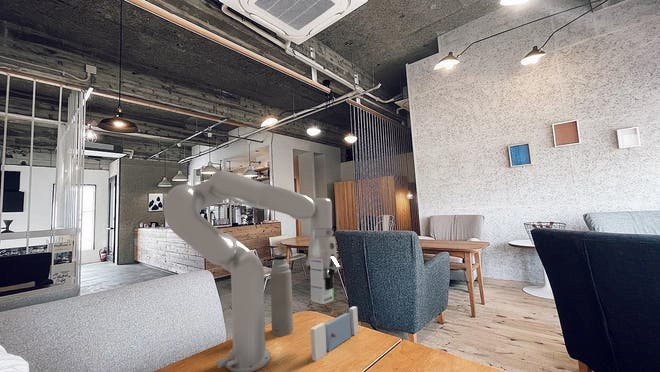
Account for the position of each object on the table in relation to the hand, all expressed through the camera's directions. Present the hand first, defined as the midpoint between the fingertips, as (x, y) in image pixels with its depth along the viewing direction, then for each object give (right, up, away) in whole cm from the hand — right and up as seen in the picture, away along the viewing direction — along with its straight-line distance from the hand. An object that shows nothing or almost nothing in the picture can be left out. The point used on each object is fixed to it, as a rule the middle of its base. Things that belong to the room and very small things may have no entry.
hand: (322, 286), depth 93 cm
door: (+6, -18, -1) cm, 19 cm away
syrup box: (0, -5, -1) cm, 5 cm away
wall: (+5, -18, -3) cm, 19 cm away
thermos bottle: (-15, -21, +11) cm, 28 cm away
